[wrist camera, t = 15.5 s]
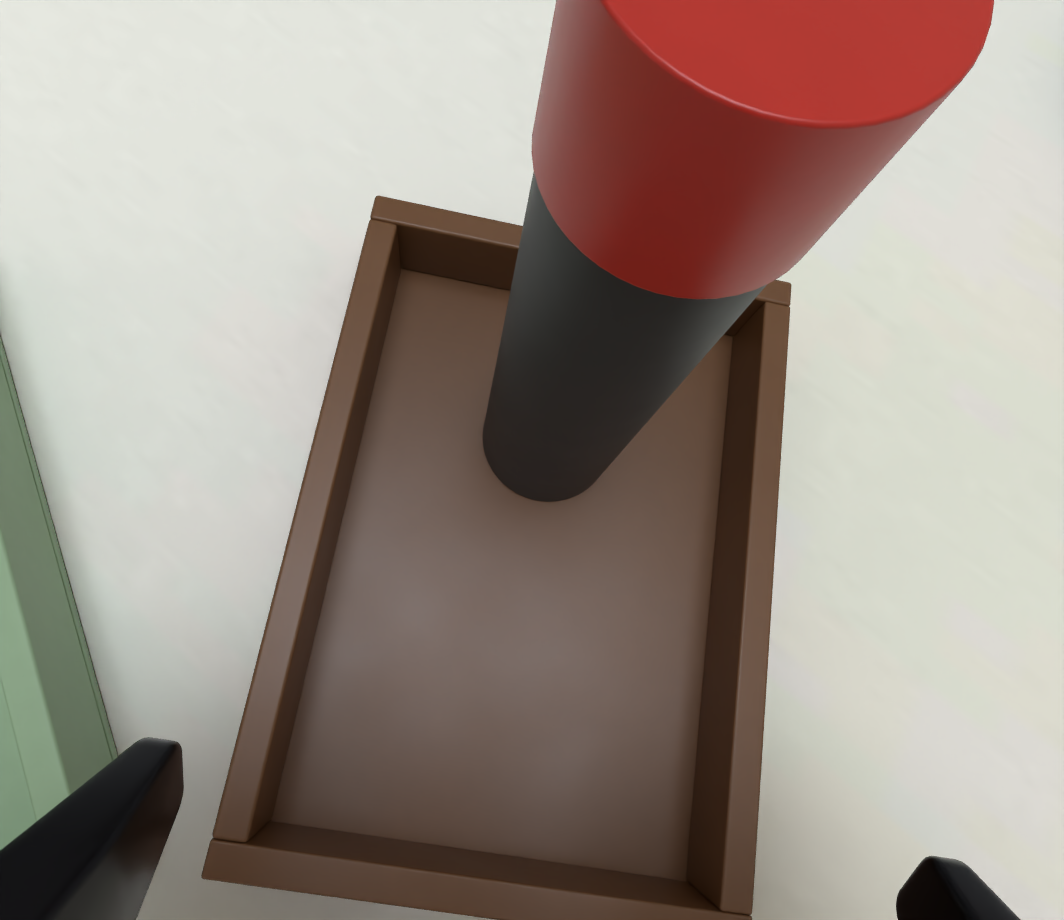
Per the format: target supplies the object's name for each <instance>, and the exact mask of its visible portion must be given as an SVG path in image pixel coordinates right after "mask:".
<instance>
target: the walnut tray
mask: <svg viewBox="0 0 1064 920" xmlns="http://www.w3.org/2000/svg"><path fill="white" fill-rule="evenodd" d="M370 217H371V220H370V221H369V224H368V228H367V232H366V235H365V239H364V243H363V247H362V251H361V255H360V259H359V263H358V267H357V271H356V275H355V278H354V282H353V286H352V290H351V294H350V298H349V302H348V306H347V310H346V314H345V318H344V321H343V325H342V329H341V333H340V337H339V341H338V345H337V349H336V353H335V357H334V361H333V364H332V368H331V372H330V376H329V380H328V384H327V388H326V392H325V396H324V400H323V404H322V407H321V411H320V415H319V419H318V423H317V427H316V431H315V435H314V439H313V443H312V447H311V450H310V454H309V458H308V462H307V466H306V470H305V474H304V478H303V482H302V486H301V490H300V493H299V497H298V501H297V505H296V509H295V513H294V517H293V521H292V525H291V529H290V533H289V536H288V540H287V544H286V548H285V552H284V556H283V560H282V564H281V568H280V572H279V576H278V579H277V583H276V587H275V591H274V595H273V599H272V603H271V607H270V611H269V615H268V619H267V622H266V626H265V630H264V634H263V638H262V642H261V646H260V650H259V654H258V658H257V662H256V665H255V669H254V673H253V677H252V681H251V685H250V689H249V693H248V697H247V701H246V705H245V708H244V712H243V716H242V720H241V724H240V728H239V732H238V736H237V740H236V744H235V748H234V751H233V755H232V759H231V763H230V767H229V771H228V775H227V779H226V783H225V787H224V791H223V794H222V798H221V802H220V806H219V810H218V814H217V818H216V822H215V826H214V830H213V837H214V838H213V839H212V840H211V841H210V844H209V848H208V852H207V856H206V860H205V864H204V868H203V871H202V875H201V876H202V878H203V879H207V880H214V881H221V882H228V883H236V884H243V885H250V886H257V887H264V888H272V889H279V890H286V891H293V892H301V893H308V894H315V895H322V896H330V897H337V898H344V899H351V900H359V901H366V902H373V903H380V904H387V905H395V906H402V907H409V908H416V909H424V910H431V911H438V912H445V913H453V914H460V915H467V916H474V917H481V918H489V919H496V920H752V917H751V916H750V914H752V906H753V890H754V874H755V858H756V842H757V826H758V810H759V794H760V779H761V763H762V747H763V731H764V715H765V699H766V683H767V667H768V651H769V636H770V620H771V604H772V588H773V572H774V556H775V540H776V524H777V508H778V492H779V477H780V461H781V445H782V429H783V413H784V397H785V381H786V365H787V349H788V334H789V318H790V307H789V305H790V297H791V284H790V283H788V282H783V281H779V280H774V281H773V282H771V283H769V284H767V285H766V287H765V288H764V289H763V290H762V291H761V292H760V293H759V295H758V296H757V297H756V298H755V299H754V300H753V301H752V303H751V304H750V305H749V306H748V307H747V308H746V309H745V311H744V312H743V313H742V314H741V315H740V316H739V317H738V319H737V320H736V321H735V322H734V323H733V324H732V325H731V327H730V328H729V329H728V330H727V331H726V332H725V334H724V335H723V336H722V337H721V338H720V339H719V340H718V342H717V343H716V344H715V345H714V346H713V347H712V348H711V350H710V351H709V352H708V353H707V354H706V355H705V356H704V358H703V359H702V360H701V361H700V362H699V363H698V364H697V366H696V367H695V368H694V369H693V370H692V371H691V372H690V374H689V375H688V376H687V377H686V378H685V379H684V380H683V382H682V383H681V384H680V385H679V386H678V387H677V389H676V390H675V391H674V392H673V393H672V394H671V395H670V397H669V398H668V399H667V400H666V401H665V402H664V403H663V405H662V406H661V407H660V408H659V409H658V410H657V411H656V413H655V414H654V415H653V416H652V417H651V418H650V419H649V421H648V422H647V423H646V424H645V425H644V426H643V427H642V429H641V430H640V431H639V432H638V433H637V434H636V435H635V437H634V438H633V439H632V440H631V441H630V442H629V444H628V445H627V446H626V447H625V448H624V449H623V450H622V452H621V453H620V454H619V455H618V456H617V457H616V458H615V460H614V461H613V462H612V463H611V464H610V465H609V466H608V468H607V469H606V470H605V471H604V472H603V473H602V474H601V476H600V477H599V478H598V479H597V480H596V481H595V482H594V483H593V484H592V485H591V486H590V487H589V488H588V489H586V490H585V491H584V492H582V493H580V494H578V495H576V496H574V497H572V498H569V499H566V500H561V501H552V502H546V501H537V500H532V499H529V498H526V497H524V496H521V495H519V494H517V493H515V492H514V491H512V490H511V489H509V488H508V487H507V486H506V485H504V484H503V483H502V482H501V481H500V480H499V479H498V477H497V476H496V475H495V473H494V472H493V471H492V469H491V467H490V465H489V463H488V461H487V458H486V456H485V452H484V447H483V428H484V423H485V417H486V412H487V407H488V402H489V397H490V392H491V387H492V382H493V377H494V372H495V367H496V361H497V356H498V351H499V346H500V341H501V336H502V331H503V326H504V321H505V316H506V310H507V305H508V300H509V295H510V290H511V285H512V280H513V275H514V270H515V265H516V260H517V254H518V249H519V244H520V239H521V234H522V229H523V226H519V225H515V224H510V223H505V222H500V221H496V220H491V219H486V218H482V217H477V216H472V215H467V214H463V213H458V212H453V211H449V210H444V209H439V208H434V207H430V206H425V205H420V204H416V203H411V202H406V201H401V200H397V199H392V198H387V197H383V196H376V198H375V200H374V204H373V208H372V212H371V216H370Z"/></svg>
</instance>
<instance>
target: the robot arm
mask: <svg viewBox="0 0 1064 920" xmlns="http://www.w3.org/2000/svg"><path fill="white" fill-rule="evenodd" d="M183 788H184V785H183V761H182V748H181V746H180V744H179V743H178V742H176V741H171V740H164V739H158V738H151V737H148V738H143V739H141V740H139V741H137V742H136V743H134V744H133V745H132V746H131V747H129V748H128V749H127V750H125V751H124V752H123V753H122V754H120V755H119V756H118V757H117V758H115V759H114V760H113V761H112V762H110V763H109V764H108V765H107V766H105V767H104V768H103V769H102V770H100V771H99V772H98V773H97V774H95V775H94V776H93V777H92V778H90V779H89V780H88V781H87V782H85V783H84V784H83V785H82V786H80V787H79V788H78V789H77V790H75V791H74V792H73V793H72V794H70V795H69V796H68V797H66V798H65V799H64V800H63V801H61V802H60V803H59V804H58V805H56V806H55V807H54V808H53V809H51V810H50V811H49V812H48V813H46V814H45V815H44V816H43V817H41V818H40V819H39V820H38V821H36V822H35V823H34V824H33V825H31V826H30V827H29V828H28V829H26V830H25V831H24V832H23V833H21V834H20V835H19V836H18V837H16V838H15V839H14V840H13V841H11V842H10V843H9V844H7V845H6V846H5V847H4V848H2V849H1V850H0V920H136V919H137V916H138V913H139V911H140V908H141V906H142V903H143V901H144V898H145V895H146V893H147V890H148V888H149V885H150V882H151V880H152V877H153V875H154V872H155V870H156V867H157V864H158V862H159V859H160V857H161V854H162V852H163V849H164V846H165V844H166V841H167V839H168V836H169V833H170V831H171V828H172V826H173V823H174V821H175V818H176V815H177V813H178V810H179V807H180V804H181V800H182V796H183ZM896 911H897V918H898V920H1020V919H1019V918H1018V917H1017V916H1016V915H1015V914H1014V913H1013V912H1012V911H1011V910H1010V908H1009V907H1008V906H1007V905H1006V904H1005V903H1004V902H1003V901H1002V900H1001V899H1000V898H999V897H998V896H997V895H996V894H995V893H994V892H993V891H992V890H991V889H990V888H989V887H988V886H987V885H986V884H985V883H984V882H983V881H982V880H981V879H980V878H979V876H978V875H977V874H976V873H975V872H974V871H973V870H972V869H971V868H970V867H968V866H967V865H966V864H965V863H963V862H961V861H959V860H956V859H950V858H943V857H937V856H929V857H926V858H924V859H923V860H922V861H921V863H920V864H919V865H918V867H917V868H916V869H915V871H914V872H913V873H912V875H911V876H910V877H909V879H908V880H907V881H906V883H905V884H904V885H903V887H902V888H901V889H900V891H899V893H898V896H897V902H896Z"/></svg>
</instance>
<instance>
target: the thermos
mask: <svg viewBox="0 0 1064 920" xmlns="http://www.w3.org/2000/svg"><path fill="white" fill-rule="evenodd" d="M993 5H994V0H556V6H555V11H554V17H553V22H552V28H551V33H550V39H549V44H548V50H547V56H546V61H545V67H544V72H543V78H542V83H541V89H540V95H539V100H538V106H537V111H536V117H535V122H534V128H533V133H532V160H533V168H534V173H533V178H532V183H531V188H530V193H529V198H528V204H527V209H526V214H525V219H524V224H523V229H522V234H521V239H520V244H519V249H518V254H517V260H516V265H515V270H514V275H513V280H512V285H511V290H510V295H509V300H508V305H507V310H506V316H505V321H504V326H503V331H502V336H501V341H500V346H499V351H498V356H497V361H496V367H495V372H494V377H493V382H492V387H491V392H490V397H489V402H488V407H487V412H486V417H485V423H484V428H483V447H484V452H485V456H486V458H487V461H488V463H489V465H490V467H491V469H492V471H493V472H494V473H495V475H496V476H497V477H498V479H499V480H500V481H501V482H502V483H503V484H504V485H506V486H507V487H508V488H509V489H511V490H512V491H514V492H515V493H517V494H519V495H521V496H524V497H526V498H529V499H532V500H537V501H546V502H552V501H561V500H566V499H569V498H572V497H574V496H576V495H578V494H580V493H582V492H584V491H585V490H586V489H588V488H589V487H590V486H591V485H592V484H593V483H594V482H595V481H596V480H597V479H598V478H599V477H600V476H601V474H602V473H603V472H604V471H605V470H606V469H607V468H608V466H609V465H610V464H611V463H612V462H613V461H614V460H615V458H616V457H617V456H618V455H619V454H620V453H621V452H622V450H623V449H624V448H625V447H626V446H627V445H628V444H629V442H630V441H631V440H632V439H633V438H634V437H635V435H636V434H637V433H638V432H639V431H640V430H641V429H642V427H643V426H644V425H645V424H646V423H647V422H648V421H649V419H650V418H651V417H652V416H653V415H654V414H655V413H656V411H657V410H658V409H659V408H660V407H661V406H662V405H663V403H664V402H665V401H666V400H667V399H668V398H669V397H670V395H671V394H672V393H673V392H674V391H675V390H676V389H677V387H678V386H679V385H680V384H681V383H682V382H683V380H684V379H685V378H686V377H687V376H688V375H689V374H690V372H691V371H692V370H693V369H694V368H695V367H696V366H697V364H698V363H699V362H700V361H701V360H702V359H703V358H704V356H705V355H706V354H707V353H708V352H709V351H710V350H711V348H712V347H713V346H714V345H715V344H716V343H717V342H718V340H719V339H720V338H721V337H722V336H723V335H724V334H725V332H726V331H727V330H728V329H729V328H730V327H731V325H732V324H733V323H734V322H735V321H736V320H737V319H738V317H739V316H740V315H741V314H742V313H743V312H744V311H745V309H746V308H747V307H748V306H749V305H750V304H751V303H752V301H753V300H754V299H755V298H756V297H757V296H758V295H759V293H760V292H761V291H762V290H763V289H764V288H765V287H766V285H767V284H769V283H771V282H773V281H774V280H776V279H777V278H779V277H780V276H782V275H783V274H785V273H786V272H788V271H789V270H790V269H791V268H792V267H793V266H794V265H795V264H796V263H798V262H799V261H800V260H801V259H802V257H803V256H804V255H805V254H806V253H807V252H808V251H809V250H810V249H811V247H812V246H813V245H814V244H815V243H816V242H817V241H818V240H819V239H820V237H821V236H822V235H823V234H824V233H825V232H826V231H827V230H828V229H829V227H830V226H831V225H832V224H833V223H834V222H835V221H836V220H837V219H838V218H839V216H840V215H841V214H842V213H843V212H844V211H845V210H846V209H847V208H848V206H849V205H850V204H851V203H852V202H853V201H854V200H855V199H856V198H857V196H858V195H859V194H860V193H861V192H862V191H863V190H864V189H865V188H866V186H867V185H868V184H869V183H870V182H871V181H872V180H873V179H874V178H875V176H876V175H877V174H878V173H879V172H880V171H881V170H882V169H883V168H884V166H885V165H886V164H887V163H888V162H889V161H890V160H891V159H892V158H893V156H894V155H895V154H896V153H897V152H898V151H899V150H900V149H901V148H902V147H903V145H904V144H905V143H906V142H907V141H908V140H909V139H910V138H911V137H912V135H913V134H914V133H915V132H916V131H917V130H918V129H919V128H920V127H921V125H922V124H923V123H924V122H925V121H926V120H927V119H928V118H929V117H930V115H931V114H932V113H933V112H934V111H935V110H936V109H937V108H938V107H939V105H940V104H941V103H942V102H943V101H944V100H945V99H946V98H947V97H948V95H949V94H950V93H951V92H952V91H953V90H954V89H955V88H956V87H957V85H958V84H959V83H960V82H961V81H962V80H963V78H964V77H965V76H966V75H967V73H968V72H969V71H970V69H971V68H972V67H973V65H974V64H975V62H976V60H977V58H978V56H979V54H980V52H981V51H982V49H983V46H984V43H985V40H986V37H987V34H988V31H989V28H990V25H991V20H992V13H993Z"/></svg>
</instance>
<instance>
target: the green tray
mask: <svg viewBox="0 0 1064 920" xmlns="http://www.w3.org/2000/svg"><path fill="white" fill-rule="evenodd" d="M117 757H118V755H117V752H116V748H115V745H114V741H113V737H112V734H111V730H110V727H109V723H108V720H107V716H106V712H105V709H104V705H103V702H102V698H101V694H100V691H99V687H98V684H97V680H96V677H95V673H94V669H93V666H92V662H91V659H90V655H89V652H88V648H87V644H86V641H85V637H84V634H83V630H82V627H81V623H80V619H79V616H78V612H77V609H76V605H75V602H74V598H73V594H72V591H71V587H70V584H69V580H68V577H67V573H66V569H65V566H64V562H63V559H62V555H61V552H60V548H59V544H58V541H57V537H56V534H55V530H54V526H53V523H52V519H51V516H50V512H49V509H48V505H47V501H46V498H45V494H44V491H43V487H42V484H41V480H40V476H39V473H38V469H37V466H36V462H35V459H34V455H33V451H32V448H31V444H30V441H29V437H28V434H27V430H26V426H25V423H24V419H23V416H22V412H21V409H20V405H19V401H18V398H17V394H16V391H15V387H14V384H13V380H12V376H11V373H10V369H9V366H8V362H7V359H6V355H5V351H4V348H3V344H2V341H1V337H0V850H1V849H2V848H4V847H5V846H6V845H7V844H9V843H10V842H11V841H13V840H14V839H15V838H16V837H18V836H19V835H20V834H21V833H23V832H24V831H25V830H26V829H28V828H29V827H30V826H31V825H33V824H34V823H35V822H36V821H38V820H39V819H40V818H41V817H43V816H44V815H45V814H46V813H48V812H49V811H50V810H51V809H53V808H54V807H55V806H56V805H58V804H59V803H60V802H61V801H63V800H64V799H65V798H66V797H68V796H69V795H70V794H72V793H73V792H74V791H75V790H77V789H78V788H79V787H80V786H82V785H83V784H84V783H85V782H87V781H88V780H89V779H90V778H92V777H93V776H94V775H95V774H97V773H98V772H99V771H100V770H102V769H103V768H104V767H105V766H107V765H108V764H109V763H110V762H112V761H113V760H114V759H115V758H117Z"/></svg>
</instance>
